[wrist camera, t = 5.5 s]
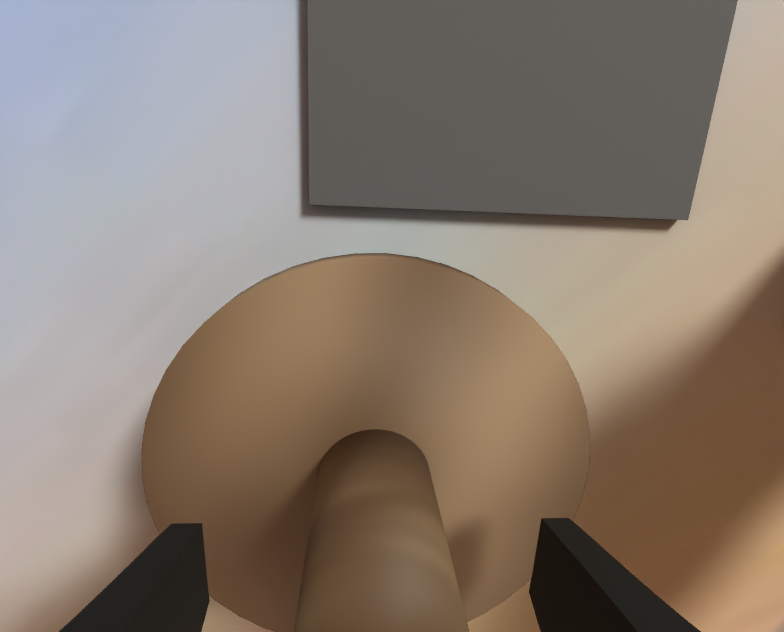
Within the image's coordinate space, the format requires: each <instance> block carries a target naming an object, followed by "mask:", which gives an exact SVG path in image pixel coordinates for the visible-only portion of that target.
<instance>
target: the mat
mask: <svg viewBox="0 0 784 632" xmlns="http://www.w3.org/2000/svg"><path fill="white" fill-rule="evenodd" d="M737 1H738V0H307V22H308V135H309V205H333V206H357V207H382V208H406V209H430V210H455V211H479V212H503V213H527V214H552V215H576V216H600V217H624V218H649V219H673V220H688V218H689V213H690V209H691V205H692V200H693V196H694V191H695V187H696V182H697V178H698V174H699V169H700V165H701V160H702V156H703V151H704V147H705V143H706V138H707V134H708V129H709V125H710V120H711V116H712V112H713V107H714V103H715V98H716V94H717V89H718V85H719V81H720V76H721V72H722V67H723V63H724V58H725V54H726V50H727V45H728V41H729V36H730V32H731V27H732V23H733V19H734V14H735V10H736V5H737Z"/></svg>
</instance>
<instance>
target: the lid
mask: <svg viewBox="0 0 784 632" xmlns="http://www.w3.org/2000/svg"><path fill="white" fill-rule="evenodd" d="M589 461H590V431H589V424H588V417H587V410H586V406H585V403H584V400H583V397H582V393H581V390H580V387H579V384H578V382H577V380H576V378H575V376H574V374H573V371H572V369H571V367H570V365H569V363H568V361H567V359H566V358H565V357H564V355H563V354H562V352H561V351H560V349H559V348H558V346H557V345H556V344H555V342H554V341H553V339H552V338H551V337H550V336H549V335H548V334H547V332H546V331H545V330H544V329H543V328H542V327H541V326H540V325H539V324H538V323H537V322H536V321H535V320H534V319H533V318H532V317H531V316H530V315H529V314H528V313H526V312H525V311H524V310H523V309H521V308H520V307H519V306H517V305H516V304H515V303H514V302H512V301H511V300H510V299H509V298H507V297H506V296H505V295H503V294H502V293H501V292H499V291H498V290H496V289H495V288H493V287H491V286H490V285H488V284H486V283H484V282H483V281H481V280H479V279H478V278H476V277H474V276H472V275H470V274H467V273H465V272H462V271H460V270H458V269H455V268H453V267H450V266H448V265H445V264H441V263H437V262H434V261H430V260H426V259H422V258H418V257H412V256H404V255H396V254H387V253H366V254H348V255H341V256H334V257H327V258H322V259H318V260H314V261H311V262H307V263H304V264H300V265H296V266H293V267H291V268H288V269H286V270H284V271H281V272H279V273H277V274H274V275H272V276H269V277H267V278H265V279H263V280H261V281H260V282H258V283H256V284H255V285H253V286H251V287H250V288H248V289H246V290H245V291H243V292H241V293H240V294H238V295H237V296H236V297H234V298H233V299H232V300H231V301H229V302H228V303H227V304H226V305H225V306H223V307H222V308H221V309H220V310H218V311H217V312H216V313H215V314H214V315H212V316H211V317H210V318H209V319H208V320H207V321H206V322H204V323H203V325H202V326H201V327H200V328H199V329H198V330H197V331H196V332H195V333H194V334H193V335H192V336H191V337H190V338H189V340H188V341H187V342H186V343H185V344H184V345H183V346H182V348H181V349H180V351H179V352H178V353H177V355H176V356H175V358H174V359H173V361H172V362H171V364H170V365H169V367H168V368H167V369H166V371H165V373H164V375H163V377H162V379H161V382H160V384H159V386H158V388H157V390H156V392H155V394H154V396H153V399H152V403H151V406H150V409H149V412H148V416H147V419H146V422H145V429H144V436H143V444H142V477H143V483H144V488H145V493H146V499H147V503H148V506H149V509H150V512H151V515H152V517H153V520H154V523H155V526H156V528H157V530H158V532H159V534H161V533H162V532H163V531H164V530H165V529H166V528H167V527H168V526H169V525H171V524H174V523H202V528H203V538H204V549H205V560H206V571H207V582H208V592H209V595H210V596H211V597H212V598H213V599H215V600H216V601H217V602H218V603H220V604H221V605H223V606H224V607H226V608H228V609H229V610H231V611H232V612H234V613H235V614H237V615H239V616H240V617H242V618H244V619H246V620H249V621H251V622H253V623H255V624H257V625H259V626H261V627H263V628H266V629H269V630H272V631H274V632H469V629H468V625H467V622H468V621H470V620H472V619H474V618H476V617H478V616H480V615H482V614H484V613H485V612H487V611H489V610H490V609H492V608H493V607H495V606H497V605H498V604H500V603H501V602H503V601H504V600H506V599H507V598H508V597H510V596H511V595H512V594H513V593H515V592H516V591H517V590H518V589H520V588H521V587H522V586H523V585H525V584H526V583H527V582H528V581H529V580H530V579H531V578H532V572H533V566H534V560H535V553H536V547H537V541H538V535H539V529H540V523H541V518H569V519H570V520H572V521H573V519H574V517H575V514H576V512H577V510H578V508H579V505H580V502H581V499H582V495H583V492H584V488H585V485H586V481H587V474H588V468H589Z"/></svg>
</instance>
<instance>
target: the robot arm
mask: <svg viewBox="0 0 784 632" xmlns="http://www.w3.org/2000/svg"><path fill="white" fill-rule="evenodd" d="M529 593H530V597H531V600H532V604H533V607H534V611H535V614H536V617H537V621H538V624H539V627H540V630H541V632H701V631H699V630H698V629H697V628H695V627H694V626H693V625H692V624H690V623H689V622H688V621H687V620H686V619H684V618H683V617H682V616H681V615H679V614H678V613H677V612H676V611H675V610H673V609H672V608H671V607H670V606H669V605H667V604H666V603H665V602H664V601H663V600H662V599H660V598H659V597H658V596H657V595H656V594H654V593H653V592H652V591H651V590H650V589H649V588H648V587H646V586H645V585H644V584H643V583H642V582H641V581H639V580H638V579H637V578H636V577H635V576H634V575H633V574H631V573H630V572H629V571H628V570H627V569H626V568H625V567H624V566H622V565H621V564H620V563H619V562H618V561H617V560H616V559H615V558H613V557H612V556H611V555H610V554H609V553H608V552H607V551H606V550H604V549H603V548H602V547H601V546H600V545H599V544H598V543H597V542H596V541H594V540H593V539H592V538H591V537H590V536H589V535H588V534H587V533H585V532H584V531H583V530H582V529H581V528H580V527H579V526H577V525H576V524H575V523H574V522H573V521H572V520H570V519H569V518H541V523H540V529H539V535H538V541H537V547H536V553H535V560H534V566H533V572H532V578H531V584H530V590H529ZM208 604H209V592H208V582H207V571H206V560H205V549H204V538H203V528H202V523H174V524H171V525H169V526H168V527H167V528H166V529H165V530H164V531H163V532H162V533H161V534H160V535H159V536H158V537H157V538H156V539H155V540H154V541H153V542H152V543H151V544H150V545H149V546H148V547H147V548H146V549H145V550H144V551H143V552H142V553H141V554H140V555H139V556H138V557H137V558H136V559H135V560H134V561H133V562H132V563H131V564H130V565H129V566H128V567H127V568H125V569H124V570H123V571H122V572H121V573H120V574H119V575H118V576H117V577H116V578H115V579H114V580H113V581H112V582H111V583H110V584H109V585H108V586H107V587H106V588H105V589H104V590H103V591H102V592H101V593H100V594H99V595H98V596H97V597H95V598H94V599H93V600H92V601H91V602H90V603H89V604H88V605H87V606H86V607H85V608H84V609H83V610H82V611H81V612H80V613H79V614H78V615H77V616H75V617H74V618H73V619H72V620H71V621H70V622H69V623H68V624H67V625H66V626H65V627H64V628H62V629H61V630H60V631H59V632H201V630H202V626H203V623H204V619H205V615H206V611H207V608H208Z"/></svg>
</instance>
